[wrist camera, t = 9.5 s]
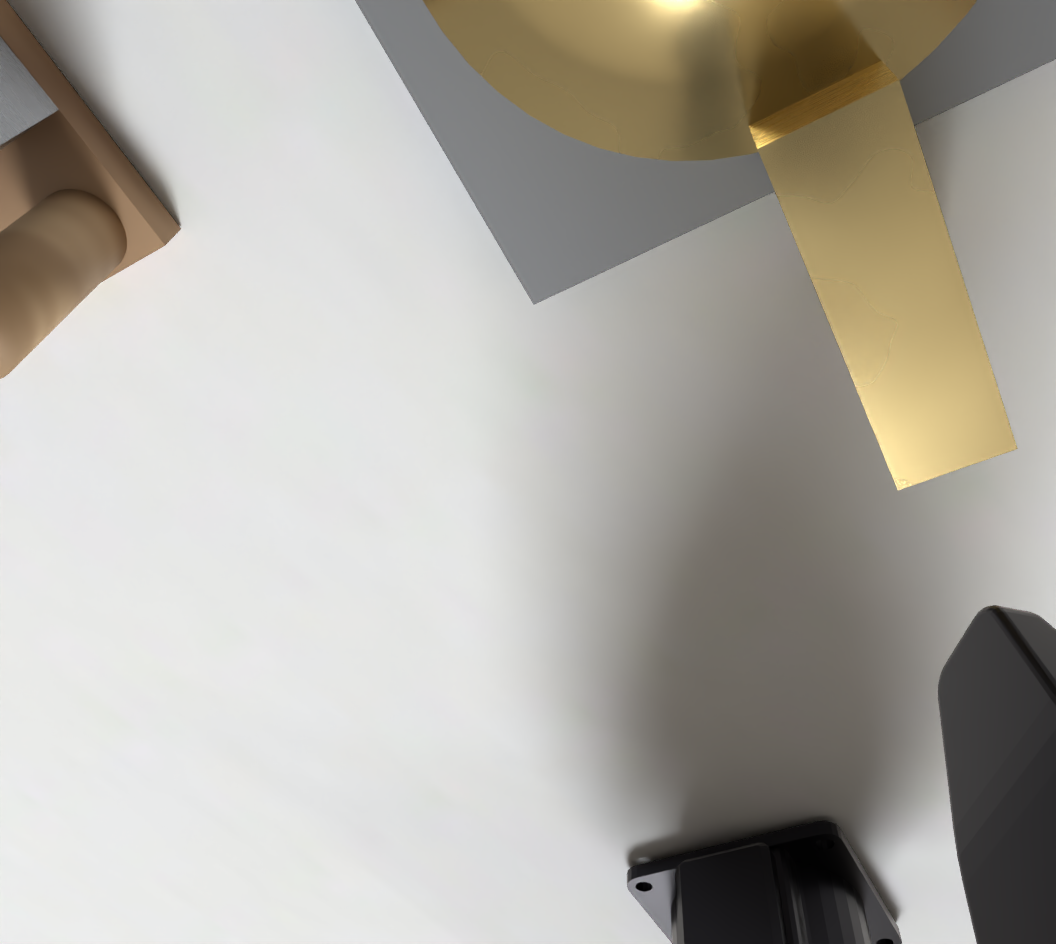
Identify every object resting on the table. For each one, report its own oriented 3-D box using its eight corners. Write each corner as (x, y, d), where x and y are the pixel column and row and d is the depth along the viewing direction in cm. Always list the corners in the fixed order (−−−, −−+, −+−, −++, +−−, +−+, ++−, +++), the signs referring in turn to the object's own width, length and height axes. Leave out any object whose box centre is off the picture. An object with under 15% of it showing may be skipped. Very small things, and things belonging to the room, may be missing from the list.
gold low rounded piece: (1146, 273, 16) (1247, 368, 14) (699, 447, 19) (712, 555, 16) (910, -851, 10) (1018, -1077, 7) (278, -343, 12) (189, -374, 10)
